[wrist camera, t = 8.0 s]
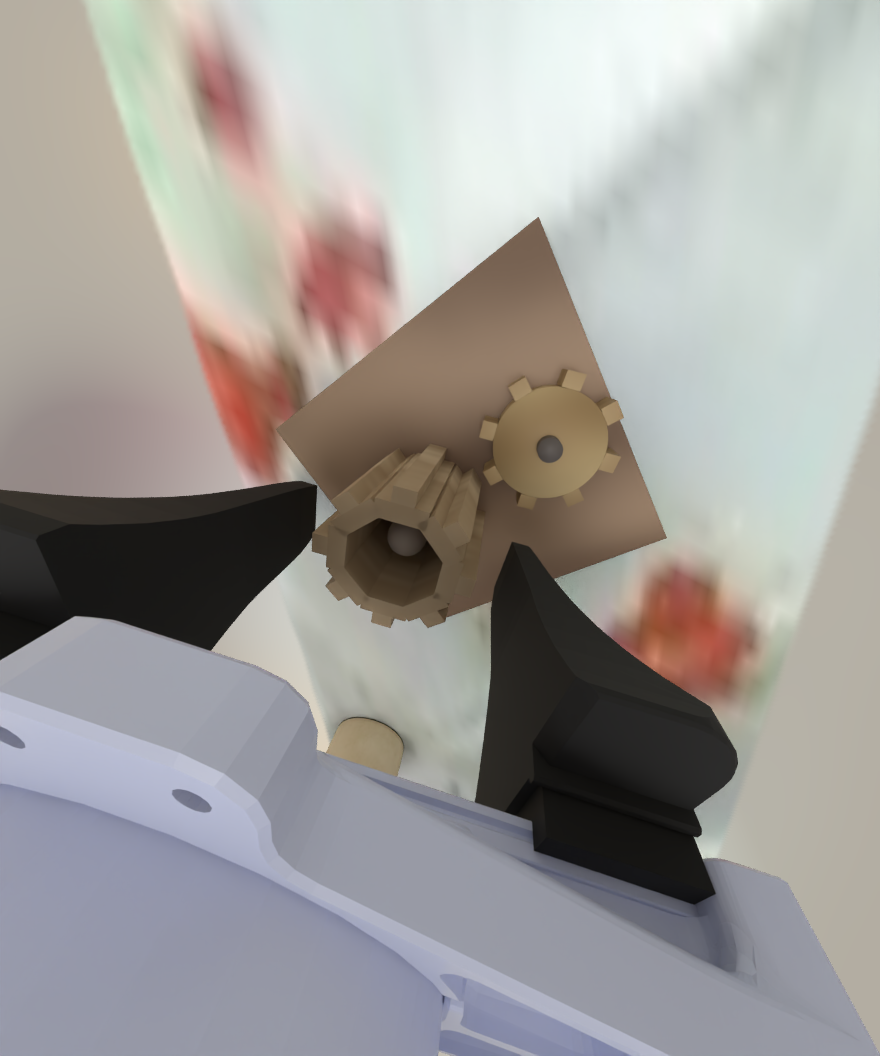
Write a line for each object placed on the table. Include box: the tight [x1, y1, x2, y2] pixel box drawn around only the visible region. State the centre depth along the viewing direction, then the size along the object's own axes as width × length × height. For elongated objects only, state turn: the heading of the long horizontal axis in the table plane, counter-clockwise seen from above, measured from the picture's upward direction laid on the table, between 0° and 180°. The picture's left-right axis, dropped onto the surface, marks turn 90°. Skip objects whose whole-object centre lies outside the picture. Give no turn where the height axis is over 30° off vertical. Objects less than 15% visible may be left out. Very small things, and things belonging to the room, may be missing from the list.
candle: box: [326, 718, 403, 776], centre depth 21 cm, size 6×6×10 cm
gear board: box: [276, 217, 667, 623], centre depth 12 cm, size 12×12×5 cm
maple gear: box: [312, 444, 485, 628], centre depth 12 cm, size 5×5×5 cm
